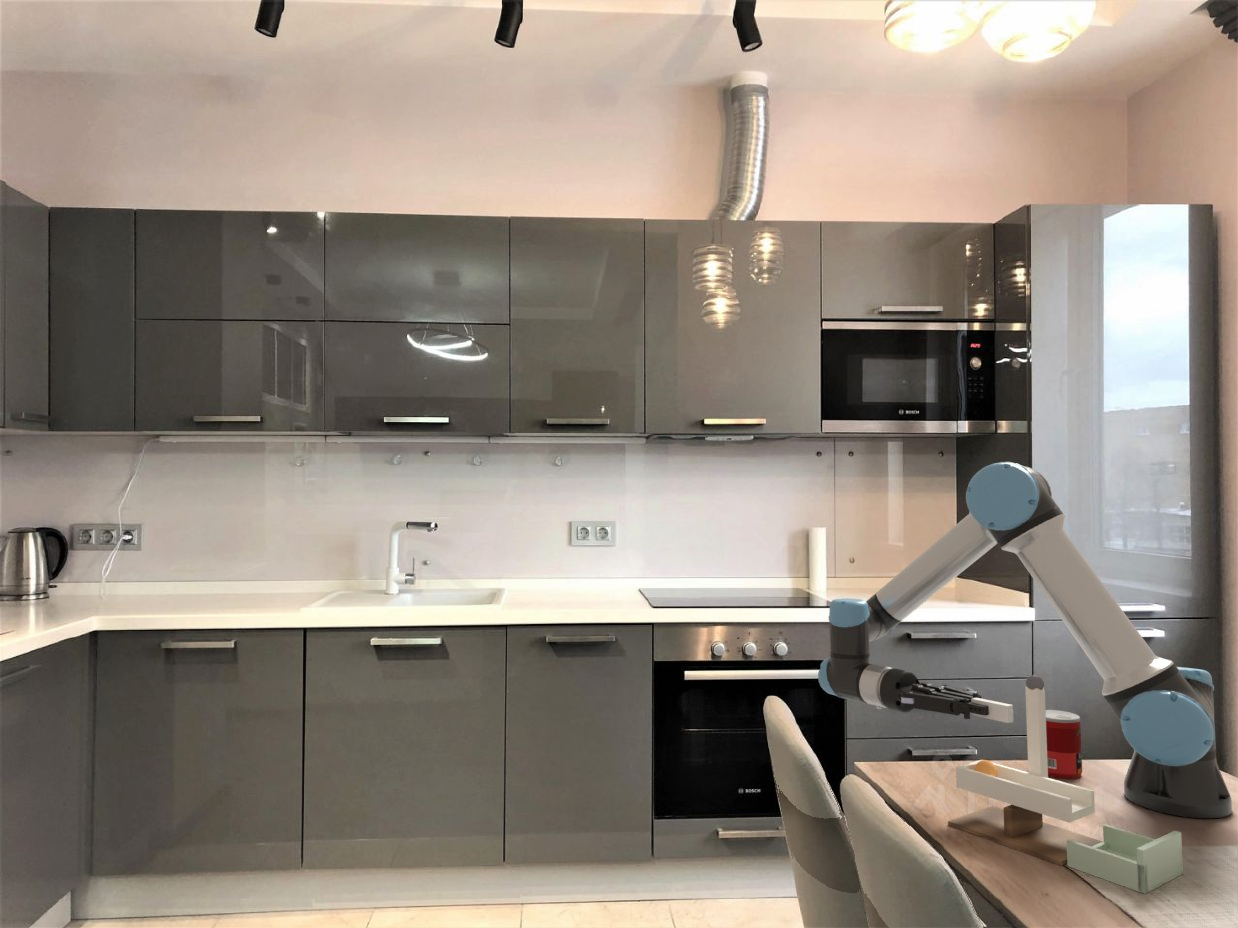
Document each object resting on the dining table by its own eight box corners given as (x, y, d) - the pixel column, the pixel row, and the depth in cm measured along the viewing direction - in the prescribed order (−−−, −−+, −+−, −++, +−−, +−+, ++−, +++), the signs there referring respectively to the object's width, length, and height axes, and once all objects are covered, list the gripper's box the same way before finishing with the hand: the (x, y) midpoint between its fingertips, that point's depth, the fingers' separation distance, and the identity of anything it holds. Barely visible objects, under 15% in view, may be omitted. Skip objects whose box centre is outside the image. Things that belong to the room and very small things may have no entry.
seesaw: (956, 787, 130) (953, 671, 131) (990, 776, 135) (986, 665, 136) (1069, 822, 115) (1064, 691, 116) (1102, 809, 120) (1097, 684, 121)
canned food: (1088, 780, 149) (1086, 720, 150) (1042, 777, 151) (1039, 718, 151) (1074, 767, 157) (1072, 710, 157) (1029, 765, 158) (1027, 708, 159)
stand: (948, 824, 128) (947, 793, 129) (992, 809, 135) (991, 780, 135) (1061, 865, 113) (1060, 830, 114) (1105, 846, 120) (1103, 813, 120)
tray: (1067, 865, 113) (1065, 825, 114) (1106, 848, 119) (1105, 810, 119) (1145, 893, 105) (1143, 850, 105) (1183, 873, 111) (1181, 832, 111)
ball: (994, 777, 131) (993, 757, 131) (999, 784, 128) (999, 763, 128) (973, 776, 131) (972, 756, 132) (978, 783, 128) (977, 762, 128)
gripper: (913, 704, 154) (1033, 731, 134) (867, 713, 147) (987, 743, 127) (912, 664, 154) (1032, 685, 135) (866, 671, 147) (985, 695, 128)
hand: (1010, 713), depth 131 cm, fingers closed
